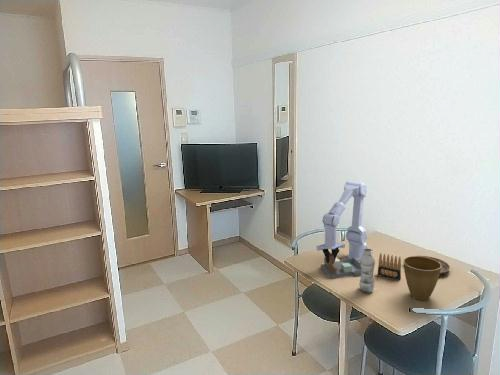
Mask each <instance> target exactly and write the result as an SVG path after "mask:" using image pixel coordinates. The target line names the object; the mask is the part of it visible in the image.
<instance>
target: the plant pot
mask: <svg viewBox="0 0 500 375" xmlns="http://www.w3.org/2000/svg"><path fill="white" fill-rule="evenodd" d="M422 256H423V255H411V256H407V257H405V258H403V270H404V275H405V281H406V285H407V288H408V291H409V294H410V296H411V298H413V299H415V300H417V301H427V300H429V299H430V297H431V296H432V294H433V293H434V290H435V289H436V286H437V283H438V281H439V278H440V276H441V275H440V271H441V267H442V265H441V264H440V263H439V262H438V261H436V260H434V259H431V258H427V257H422Z"/></svg>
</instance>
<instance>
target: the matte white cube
mask: <svg viewBox="0 0 500 375" xmlns="http://www.w3.org/2000/svg"><path fill="white" fill-rule="evenodd" d="M340 262H341V260H340V259H339V258H338V257H336V259H335V262H334V264H333V265H334V266H335V267H338V266H340Z"/></svg>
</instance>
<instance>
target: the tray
mask: <svg viewBox="0 0 500 375" xmlns="http://www.w3.org/2000/svg"><path fill="white" fill-rule="evenodd" d="M341 262H343V263H349V264H350V265H352V271H353V276H354V277H361V264H360V260H357V259H355V258H354V257H353V258H342V260H341Z"/></svg>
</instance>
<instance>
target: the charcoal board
mask: <svg viewBox="0 0 500 375" xmlns="http://www.w3.org/2000/svg"><path fill="white" fill-rule="evenodd" d="M342 263H343V262H342V261H340V266H338V267H336V268H337V274H334V273H333V272H332V271H331V270H330V269H329V268H328V267H327V266H326V265H325V264H324V263H323V264H320V269H321V271H323V273H324V274H325V275H326V276H327V277H328V278H329V279H336V278H337V279H339V278H344V277H351V276H354V275H353V271H352V272H344V271H343V270H342V269H341V264H342Z"/></svg>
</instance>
